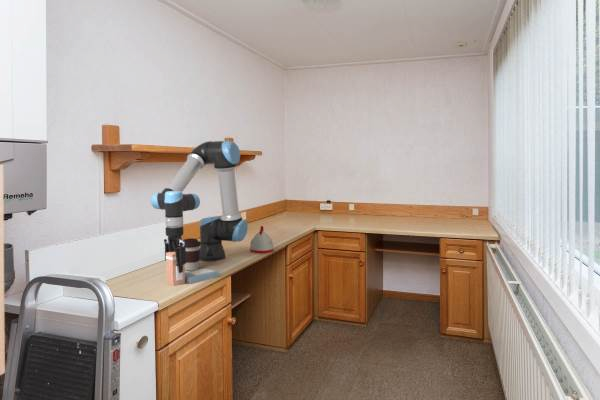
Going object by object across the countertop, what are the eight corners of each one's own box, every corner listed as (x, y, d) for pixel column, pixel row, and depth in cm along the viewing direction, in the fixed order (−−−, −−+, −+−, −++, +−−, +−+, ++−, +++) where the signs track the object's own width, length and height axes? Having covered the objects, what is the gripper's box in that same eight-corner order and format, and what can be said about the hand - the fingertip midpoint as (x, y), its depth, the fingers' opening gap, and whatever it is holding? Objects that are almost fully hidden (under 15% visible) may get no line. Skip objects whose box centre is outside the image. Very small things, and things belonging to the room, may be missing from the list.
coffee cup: (191, 265, 230) (191, 237, 229) (205, 268, 224) (204, 239, 223) (176, 269, 222) (175, 240, 220) (190, 272, 216) (189, 242, 215)
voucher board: (205, 272, 215) (205, 267, 215) (219, 276, 209) (218, 270, 208) (175, 280, 203) (175, 274, 202) (188, 284, 196) (188, 278, 196)
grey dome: (275, 249, 273) (274, 224, 272) (271, 253, 259) (271, 228, 258) (252, 248, 274) (252, 224, 273) (247, 253, 261) (247, 227, 259)
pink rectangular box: (178, 281, 201) (177, 250, 200) (185, 283, 198) (184, 252, 196) (166, 283, 196) (165, 252, 195) (173, 286, 193) (172, 254, 192)
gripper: (155, 225, 198) (157, 276, 200) (178, 229, 186) (180, 284, 188) (170, 223, 203) (171, 273, 205) (193, 227, 192) (195, 280, 194)
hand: (175, 278), depth 197 cm, fingers closed on pink rectangular box, 5 cm apart
